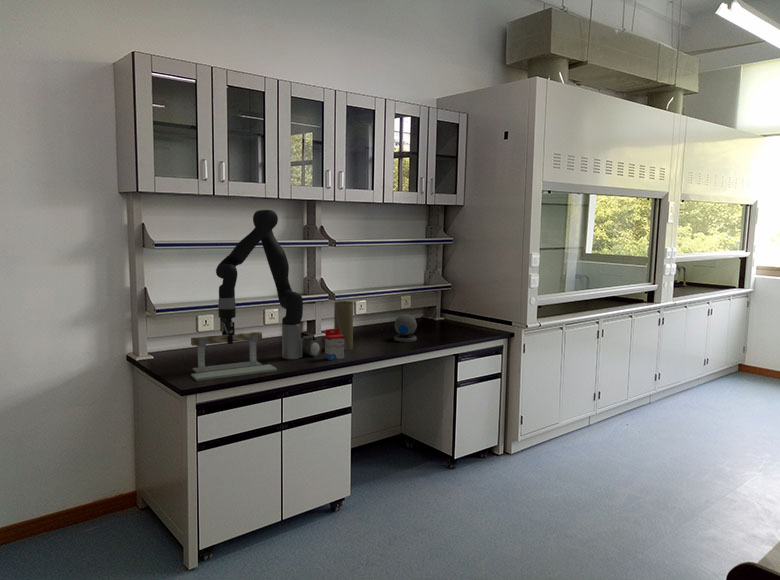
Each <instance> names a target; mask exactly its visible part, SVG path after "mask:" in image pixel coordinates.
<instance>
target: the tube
mask: <svg viewBox="0 0 780 580" xmlns="http://www.w3.org/2000/svg"><path fill="white" fill-rule="evenodd" d="M333 305H334V307H333V309H334V311H333V314H334V316H333V318H334V321H333V323H334V324H333V325H334V326H333V327H334V328H333V329H338V328H339V329H340V332H339V334H341V335H344V351H350V350H353V349H354V346H353V345H354V340H353V339H354V338H353V337H354V333H353V332H354V302H353V301H350V300H349V301H348V300H347V301H345V300H341V301H334V304H333ZM333 332H335V331H333Z"/></svg>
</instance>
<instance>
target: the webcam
mask: <svg viewBox="0 0 780 580" xmlns="http://www.w3.org/2000/svg"><path fill="white" fill-rule="evenodd" d="M417 327H418V323H417V320H416V318H415V317H414V316H412V315H411V314H408V313H404V314H400V315H399V316H398V317H397V318H396V319H395V321H394V329H395V331H396V333H397V334H396V335H394V338H393V339H394V341H398V342H401V343H402V342H404V343H405V342H406V343H409V342H415V341H417V336H416V335H413V334H414V333H415V332H416V331H417Z"/></svg>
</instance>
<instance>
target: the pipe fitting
mask: <svg viewBox="0 0 780 580" xmlns="http://www.w3.org/2000/svg"><path fill="white" fill-rule="evenodd" d="M321 344H322V343H321V342H320V341H319V340H314V335H311V334H310V335H305V336H303V337H302V355H309V356H311V357H318V356H319V355H320V354H321V352H322V345H321Z"/></svg>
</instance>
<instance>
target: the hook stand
mask: <svg viewBox="0 0 780 580" xmlns="http://www.w3.org/2000/svg"><path fill="white" fill-rule="evenodd" d="M247 341H248V342H249V361H241V362H235V363H225V364H218V365H217V364H216V365H208V366H206V362H205V361H206V358H205V357H206V356H205V355H206V354H205V348H207V344H206V339H200V340H199V345H195V347H197V367H192V371H193V372H194V374H195V373H203V372H211V371H220V370H228V369H236V368H244V367H252V366H261V365H263V364H262V363H261V362H259V361H258V360H257V343H259V339H258V334H254V335H251V340H247Z"/></svg>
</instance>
